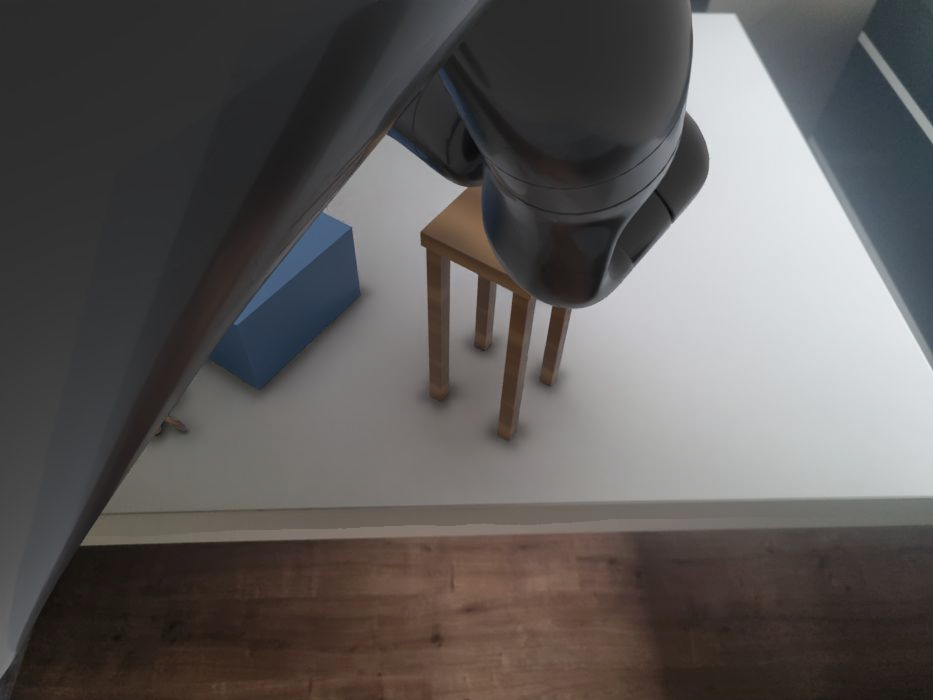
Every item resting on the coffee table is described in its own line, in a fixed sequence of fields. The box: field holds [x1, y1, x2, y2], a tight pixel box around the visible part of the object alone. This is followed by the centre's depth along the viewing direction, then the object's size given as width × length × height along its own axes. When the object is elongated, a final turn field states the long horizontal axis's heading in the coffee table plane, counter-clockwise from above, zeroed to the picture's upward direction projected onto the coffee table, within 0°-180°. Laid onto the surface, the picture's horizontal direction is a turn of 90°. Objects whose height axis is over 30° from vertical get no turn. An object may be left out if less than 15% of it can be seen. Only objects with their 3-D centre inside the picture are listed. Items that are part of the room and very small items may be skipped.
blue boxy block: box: [208, 211, 362, 391], centre depth 74 cm, size 16×16×13 cm
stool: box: [419, 186, 573, 442], centre depth 65 cm, size 10×10×22 cm
